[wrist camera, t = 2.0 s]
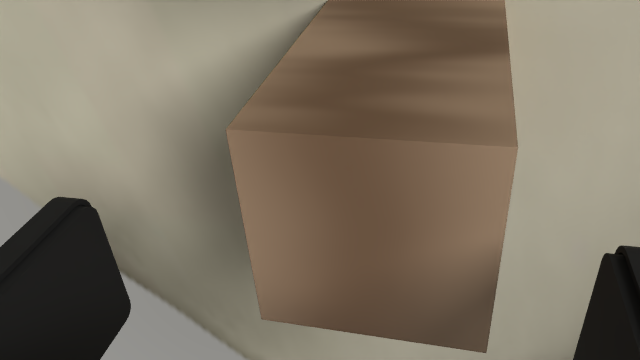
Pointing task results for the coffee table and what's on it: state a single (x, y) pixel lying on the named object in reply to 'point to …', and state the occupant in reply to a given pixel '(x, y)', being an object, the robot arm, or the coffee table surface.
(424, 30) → the walnut block
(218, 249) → the coffee table surface
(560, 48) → the coffee table surface
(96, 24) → the coffee table surface
